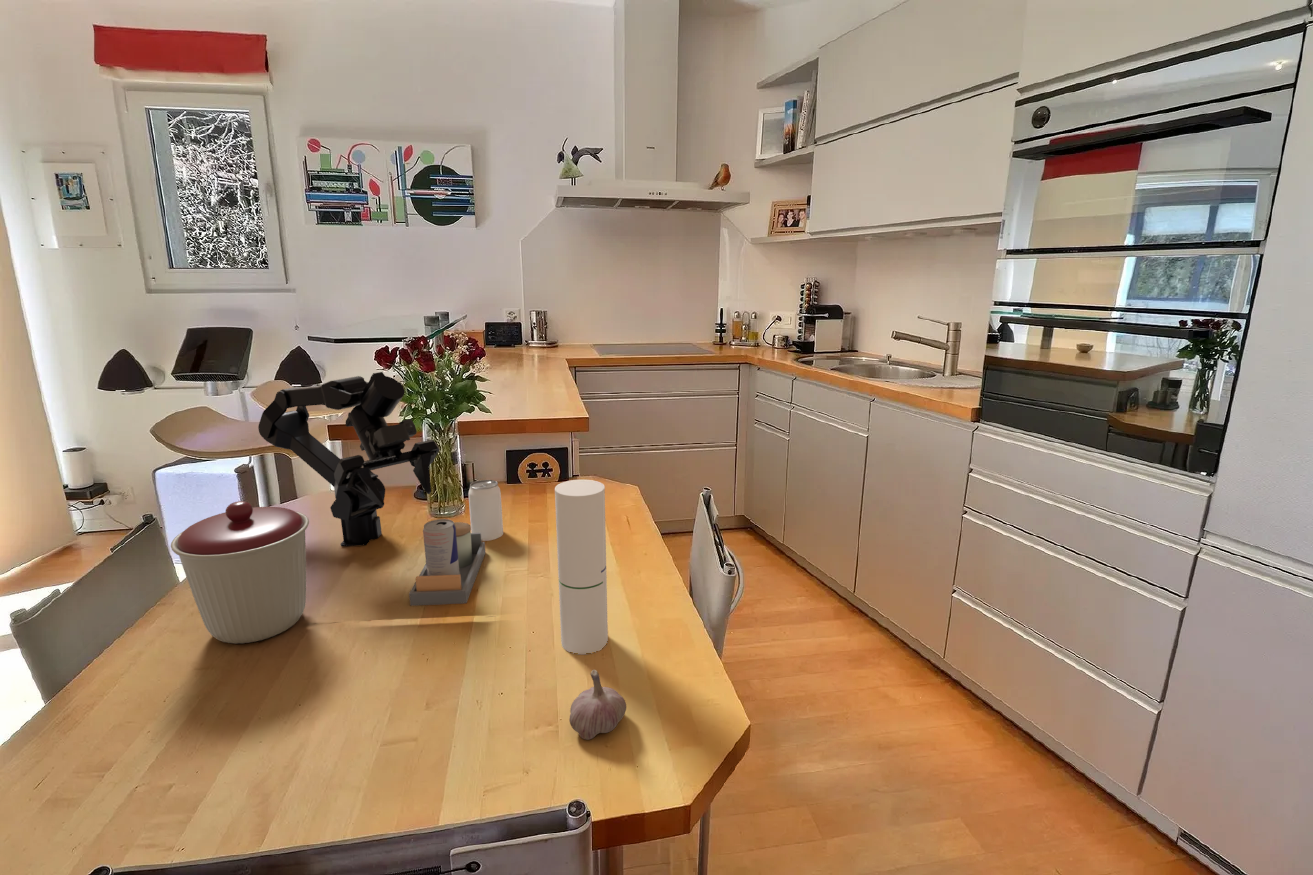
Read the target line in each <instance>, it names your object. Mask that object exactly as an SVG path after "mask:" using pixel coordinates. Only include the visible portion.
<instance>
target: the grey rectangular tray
mask: <svg viewBox="0 0 1313 875" xmlns="http://www.w3.org/2000/svg"><path fill="white" fill-rule="evenodd" d="M471 544H472V556H473V562H472V563H471V564H470V565H468V566H466V567H463V568H459V573H460V575H461V587H462V590H442V591H418V592H417V588H416V581H415V583H414V584H413V586H412V587H411V589H410V591H409V592H408V596H409V606H410V607H411V606H413V607H414V606H416V607H417V606H433V605H458V604H459V605H460V604H467V603H468V600H469V597H470V594H471V592H472V589H473V587H474V585H475V582H476V579H477V576H478V573H479V571H480V569H481V566H482V563H483V560H484V558H485V555H486V541H482V540H481V533H471ZM418 576H427V567H426V563H425V565H424V566H423V568H422V570H421V571H420V574H419V575H418Z"/></svg>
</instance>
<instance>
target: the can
mask: <svg viewBox="0 0 1313 875" xmlns="http://www.w3.org/2000/svg"><path fill="white" fill-rule="evenodd" d="M498 484H499V482H498V481H497V480H493V479H482V480H481V479H480V480H476V481H473V482H471V483H470V484H469V490H468V504H469V518H470V519H469V520H470V526H471V533H481V540H482V542H486V541H487V542H488V541H492V540H493V541H494V540H497V539H499V538H501V537H502V536H503V535H504V525H503V524H504V522H503V507H502V497H501V496H502V494H501V488H500V487H499V485H498Z"/></svg>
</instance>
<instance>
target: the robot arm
mask: <svg viewBox="0 0 1313 875" xmlns="http://www.w3.org/2000/svg"><path fill="white" fill-rule="evenodd" d="M405 393H406V392H405V387H404V386H403V384H402V382H400V381H398V380H396V379H395V378H394V377H390V376H387V375H385V374H384V372H383V371H379V372H373V373H372V374H371V376H370V379H369V381H366V380H365V378H364V377H363V376H361V375H357V376H351V377H346V378H339V379H333V380H330V381H327V382H325V383H322V384H321V385H316V386H315V385H314V386H313V385H312V386H305V387H301V386H296V387H295V386H294V387H289V388H284V389H283V388H282V389H280V390H279V391H277V392H276V393H275V396H274V400H273V401H272V402H271V403H270V404H269V405H268V406H267V407H266V408H265V409H264V410H263V411H262V414H261V417H260V419H259V423H258V427H257V428H258V434H259V435H260V436H261V437H262V439H263V440H265V441H266V442H267V443H269V444H270V445H271V446H274V447H275V448H280V449H285V450H290V451H291V452H292V453H294V454H295V455H296V456H297V457H299V458H300V459H301V460H302V461H304V463H306V464H307V466H309V467H310V468H311V469H313V470H314V471H315V472H316V473H317V475H319V476H321V477H322V478H323V479H324V480H325V481H327V482H328V483H329V484H330V485H331V486H332V487H333V490H334V491H333V492H334V497H335V498H334V499H335V500H334V501H333V503H332V504H331V505H330V511H331V514H332V517H333V518H335V519H339V520H340V523H341V525H340V526H341V530H342V537H343V540H342V542H340V547H361V546H362V547H363V546H368V544H369V543H370V541H374V540H378V539H379V538H380V537H381V536H382V533H383V532H382V526H381V517H380V516H379V515H378V512H377V510H379V509H382V508H384V506H385V496H386V488H385V487H386V486H385V485H384V483H383V482H382V480H381V479H380V478H378V477H379V474H376V473H374V472H373V470H379V469H383V468H387V467H392V466H396V465H400V464H404V463H410V465H411V466H412V467H414V468H413V469H412V472H413V473H414V475H415V477H416V478H417V480H418V482H419V483H420V485H421V487H422V489H423V491H425V493H426V494H427V495H431V493H432V485H431V484H432V483H431V476H430V475H431V474H430V465H431V464H433V462H434V461H435V459H436V457H437V456H438V454H439V452H440V450H441V449H440V447H439V446H438V443H437V442H436V441H435V440H433V439H428V440H423V441H419V442H415V443H414V445H413V446H412V448H411V450H409V451H405V452H404V451H403V452H402V451H401V450H404V448H405V447H406V444H405V442H407V441H410V440H411V438H410V437H415V435H416V434H417V432H418V431H417V428H416V425H415V423H414V421H413V420H412V418H408V419H402V420H401V421H399V422H398V424H394V425H391V424H390V425H388V423H387V421H386V417H388V416H389V417H390V415H391V414H392V413H393V412H394V411H395V409H396V407H397V406H398V404H399V403H400V402H401V400H402V398H403V397H404V396H405ZM321 405H322V406H325V407H326V409H331V410H335V411H340V410H344V409H350V408H352V410H351V411H350V412H348V413H347V418H346V419H345V427H353V429H354V430H355V433H356V435H357V437H358V439H359V441H360V444H359V449H360V450H361V451H364V452H365V454H366V456H367V458H368V460H365V459H364V457H363V456H362V455H360V454H357V455H352V456H348V457H342V458H340V457H339V456H338V455H336V453H334V452H332V451H331V449H329V448H328V447H327V446H325V445H324V444H323V443H321V442H320V441H319V440H318V439H317V438H316V437H315V436H313V435H312V434H311V433H310V428H309V422H308V420H309V418H310V414H309V410H308V409H307V407H309V406H321ZM295 407H296V410H290V411H287V409H291V408H295Z"/></svg>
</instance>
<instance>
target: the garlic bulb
mask: <svg viewBox="0 0 1313 875" xmlns="http://www.w3.org/2000/svg"><path fill="white" fill-rule="evenodd" d="M590 676H591V679H592V684H593V686H591V687H590V688H589V689H585V690H583V691H581V692H580V693H579V695H578V696H577V697H576V698H575V699H573V701H572V703H571V704H570V708H569V709H570V710H569V713H570V714H569V719H568V720H569V724H570V726H571V728H572V729H573V731H575V732H577V734H578V735H579V737H580V738H581V739H583V740H586V741H588V740H592V739H594V738H595V737H596V736H597V735H598V734H607V733H609V732H612V731H613V730H614V729H616V728H617V726H618V724H619V722H620V721H621V720H622V719H623V718H624V716H625V715H626V711H627V702H626V700H625V698H624V697H623V696H622V695H621V694H620V693H619V692H618V691H617V690H615V689H614V688H611V687H608V686H602V684H601V679H600V674H599V672H598V671H597V669H592V670H591V672H590Z"/></svg>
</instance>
